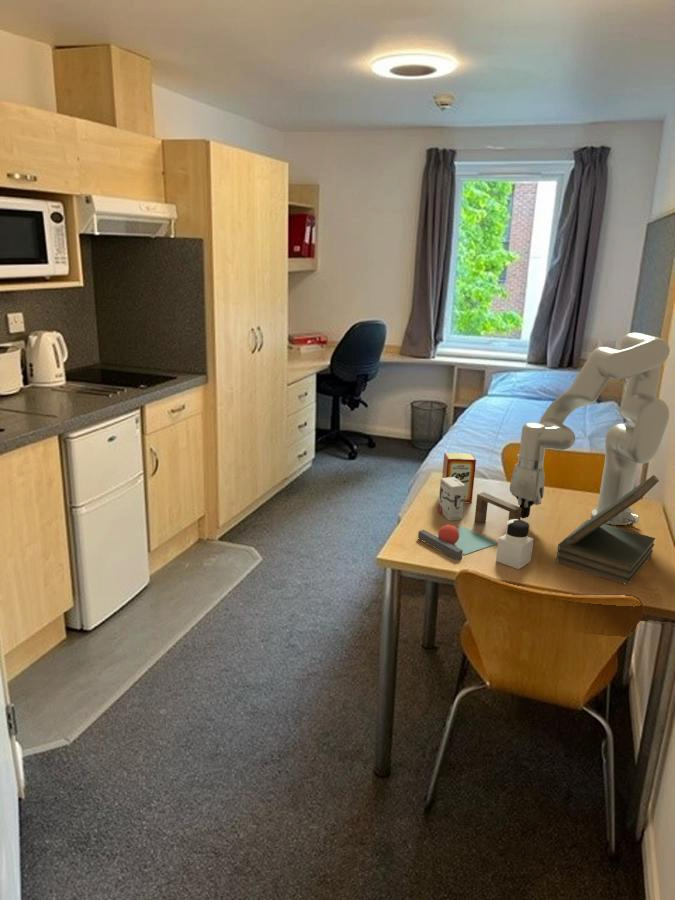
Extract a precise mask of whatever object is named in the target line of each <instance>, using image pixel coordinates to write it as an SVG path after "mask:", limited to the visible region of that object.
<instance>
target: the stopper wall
mask: <svg viewBox="0 0 675 900" xmlns="http://www.w3.org/2000/svg"><path fill="white" fill-rule="evenodd" d="M417 535H418V536H417V539H418V538H419V539H421V540H423V541H425V542H426V543H425V542H424V543H425V544H427V543H428V544H430V545H432V546H434V547H435V548H434V547H433V548H434V549H436V548H437V549H436V550H438V549H439V550H441V551H442V552H441V551H440V552H441V553H443V552H444V553H443V554H445V553H446V554H445V555H447V554H448V555H450V556H452V557H453V559H454V558H455V559H454V560H456V559H458V560H461V559H462V558H463V554H462V552H463V550H461V549H459V548H457V547H456V546H454V545H452V544H450V543H448V542H446V541H444V540H442V539H440V538H438V537H437V536H435V535H436V534H433V533H431V532H429V531H427V530H425V529H421V530H419V531H418V534H417ZM419 539H418V540H419ZM421 540H420V541H421ZM423 541H422V542H423ZM428 544H427V545H428ZM430 545H429V546H430ZM432 546H431V547H432ZM439 550H438V551H439ZM448 555H447V556H448ZM450 556H449V557H450ZM452 557H451V558H452Z"/></svg>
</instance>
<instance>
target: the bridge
mask: <svg viewBox="0 0 675 900" xmlns="http://www.w3.org/2000/svg"><path fill="white" fill-rule="evenodd" d="M488 504H490V505H493V506H496V507H497V508H500V509H502V510H505V511H507V512H508V519H507V521H509V520H512V519H519V520H522V518H521V511H522V508H520V506H518V505H515V504H513V503H511V502H508V501H506V500H503V499H501V498H499V497H496V496H493V495H491V494H489V493H487V492H480V493H477V495H476V504H475V513H474V514H475V515H474V521H473V522H474V524H476V525H479V526H480V525H483V524H486V522H487V516H488V515H487V512H488V506H489V505H488Z"/></svg>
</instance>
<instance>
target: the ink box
mask: <svg viewBox="0 0 675 900" xmlns="http://www.w3.org/2000/svg"><path fill="white" fill-rule="evenodd" d="M439 481H440V484H439V492H438V493H439V494H438V495H439V496H438V505H437V511H438V512H439V513H440V514H441V515H442V516H443V517H444V516H445V517H444V518H446V519H447V521H449V520H450V521H459V520H462V519H463V511H464V504H465V503H464V493H465V484H463V483H462V482H460V481H459V480H458V479H456V478H455V477H447V478H442V477H441V478H440V480H439Z"/></svg>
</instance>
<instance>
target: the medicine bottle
mask: <svg viewBox="0 0 675 900" xmlns="http://www.w3.org/2000/svg"><path fill="white" fill-rule="evenodd" d="M529 531H530V524H529V522H527V521H525V520H522V519H520V520H519V519H512V520H509V521H508V520H507V521H506V524H505V533H504V535H502V536H500V537H498V539H497V543H498V544H497V547H496V548H497V549H496V555H495V561H496V562H498V563H500V564H502V565H505V566H508V567H511V568H514V569H516V570H520V569H522V568H523V567H524V566H526V565H528V564H529V563H530V562H531V559H532V553H533V546H534V538H533V537H530V536H529Z"/></svg>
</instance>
